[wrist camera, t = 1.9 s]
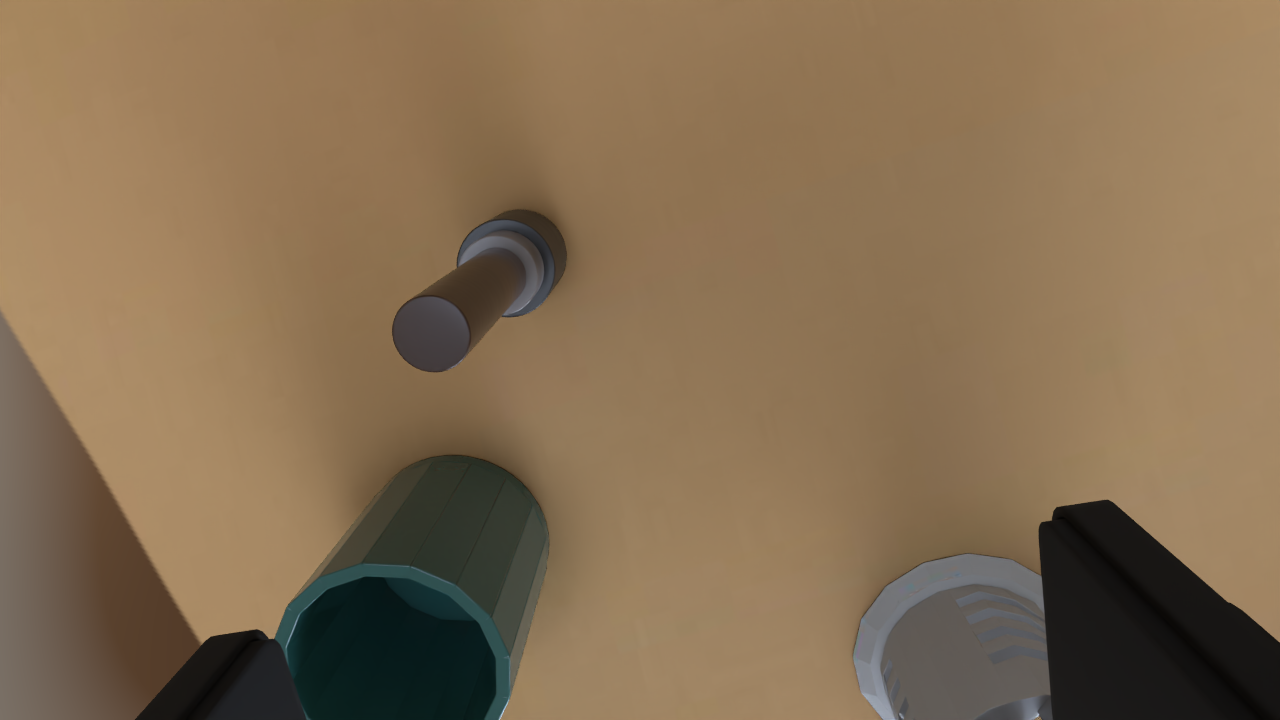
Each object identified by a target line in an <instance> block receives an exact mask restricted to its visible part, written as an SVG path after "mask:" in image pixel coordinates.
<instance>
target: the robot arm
mask: <svg viewBox="0 0 1280 720" xmlns="http://www.w3.org/2000/svg"><path fill="white" fill-rule="evenodd" d="M1039 548H1040V562H1041V575H1042V588H1043V601H1044V614H1045V628H1046V641H1047V654H1048V667H1049V680H1050V694H1051V707H1052V718H1053V720H1280V643H1279V642H1278V641H1277V640H1276V639H1275V638H1274V637H1272V636H1271V635H1270V634H1269V633H1268V632H1267V631H1265V630H1264V629H1263V628H1262V627H1261V626H1260V625H1259V624H1257V623H1256V622H1255V621H1254V620H1253V619H1252V618H1250V617H1249V616H1248V615H1247V614H1246V613H1245V612H1243V611H1242V610H1241V609H1239V608H1238V607H1236V606H1235V605H1233V604H1231V603H1228V602H1227V601H1226V600H1224V599H1223V598H1222V597H1221V596H1220V595H1219V594H1218V593H1216V592H1215V591H1214V590H1213V589H1212V588H1211V587H1210V586H1208V585H1207V584H1206V583H1205V582H1204V581H1203V580H1201V579H1200V578H1199V577H1198V576H1197V575H1196V574H1195V573H1193V572H1192V571H1191V570H1190V569H1189V568H1188V567H1187V566H1185V565H1184V564H1183V563H1182V562H1181V561H1180V560H1179V559H1177V558H1176V557H1175V556H1174V555H1173V554H1172V553H1171V552H1169V551H1168V550H1167V549H1166V548H1165V547H1164V546H1162V545H1161V544H1160V543H1159V542H1158V541H1157V540H1156V539H1154V538H1153V537H1152V536H1151V535H1150V534H1149V533H1148V532H1146V531H1145V530H1144V529H1143V528H1142V527H1141V526H1140V525H1138V524H1137V523H1136V522H1135V521H1134V520H1133V519H1131V518H1130V517H1129V516H1128V515H1127V514H1126V513H1125V512H1123V511H1122V510H1121V509H1120V508H1119V507H1118V506H1117V505H1115V504H1114V503H1113V502H1111V501H1109V500H1101V501H1094V502H1088V503H1081V504H1075V505H1068V506H1061V507H1056V509H1055V510H1054V512H1053V516H1052V521H1046V522H1042V523H1041V524H1040V526H1039ZM135 720H307V719H306V716H305V713H304V711H303V708H302V705H301V702H300V699H299V696H298V693H297V690H296V687H295V684H294V681H293V678H292V675H291V672H290V670H289V667H288V664H287V661H286V658H285V655H284V652H283V649H282V647H281V645H280V644H279V643H278V641H277V640H274V639H268V637H267V636H266V635H265V634H264V633H263V632H262V631H260V630H257V629H256V630H249V631H243V632H236V633H230V634H223V635H217V636H212V637H210V638H209V639H207V640H206V641H205V642H204V643H203V644H202V645H201V646H200V648H199V649H198V650H197V651H196V652H195V653H194V654H193V655H192V656H191V658H190V659H189V660H188V661H187V662H186V663H185V664H184V665H183V667H182V668H181V669H180V670H179V671H178V672H177V673H176V674H175V676H174V677H173V678H172V679H171V680H170V681H169V682H168V683H167V684H166V686H165V687H164V688H163V689H162V690H161V691H160V692H159V693H158V694H157V696H156V697H155V698H154V699H153V700H152V701H151V702H150V703H149V705H148V706H147V707H146V708H145V709H144V710H143V711H142V712H141V713H140V715H139V716H138V717H137V718H136V719H135Z"/></svg>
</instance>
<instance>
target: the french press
mask: <svg viewBox="0 0 1280 720" xmlns="http://www.w3.org/2000/svg"><path fill="white" fill-rule="evenodd" d="M853 660H854V664H855V668H856V673H857V677H858V681H859V686H860V690H861V693H862V694H863V695H864V696H865V698H866V699H867V700H868V701H869V703H870V704H871V705H872V706H873V708H874V709H875V710H876V711H877V713H878V714H879V715H880V716H881V718H882V719H883V720H1033V719H1035V718H1037V717H1038V716H1040V717H1041V719H1042V720H1053V718H1052V707H1051V694H1050V680H1049V667H1048V654H1047V641H1046V628H1045V614H1044V601H1043V588H1042V577H1041V576H1040V575H1038V574H1036V573H1034V572H1033V571H1031V570H1029V569H1027V568H1026V567H1024V566H1022V565H1020V564H1019V563H1017V562H1015V561H1013V560H1012V559H1004V558H997V557H990V556H983V555H975V554H968V553H967V554H963V555H958V556H953V557H949V558H944V559H939V560H935V561H930V562H925V563H923V564H921V565H919V566H918V567H916V568H915V569H913V570H911V571H910V572H908V573H906V574H905V575H903V576H902V577H900V578H898V579H897V580H895V581H894V582H892V583H890V584H889V585H887V586H886V587H885V588H884V590H883V591H882V592H881V594H880V595H879V596H878V598H877V599H876V600H875V602H874V603H873V604H872V606H871V607H870V608H869V610H868V611H867V612H866V614H865V615H864V616H863V618H862V619H861V623H860V627H859V632H858V636H857V640H856V645H855V649H854V653H853Z"/></svg>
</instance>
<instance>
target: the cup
mask: <svg viewBox="0 0 1280 720" xmlns="http://www.w3.org/2000/svg"><path fill="white" fill-rule="evenodd" d="M548 553H549V535H548V529H547V525H546V521H545V518H544V516H543V513H542V511H541V509H540V507H539V505H538V503H537V501H536V500H535V499H534V497H533V496H532V494H531V493H530V492H529V491H528V489H527V488H526V487H525V486H524V485H523V484H522V483H521V482H520V481H519V480H517V479H516V478H515V477H514V476H513V475H511V474H510V473H508V472H507V471H505V470H504V469H502V468H500V467H498V466H496V465H494V464H492V463H489V462H486V461H483V460H481V459H476V458H472V457H466V456H439V457H432V458H429V459H425V460H421V461H419V462H417V463H414V464H412V465H410V466H408V467H407V468H405V469H403V470H402V471H400V472H399V473H398V474H396V475H395V476H394V477H393V478H392V479H391V480H390V481H389V482H388V483H387V484H386V485H385V486H384V487H383V489H382V490H381V491H380V492H379V493H377V494H376V495H375V496H374V498H373V499H372V500H371V501H370V503H369V504H368V505H367V506H366V508H365V509H364V510H363V511H362V513H361V514H360V515H359V516H358V518H357V519H356V520H355V521H354V523H353V524H352V525H351V526H350V528H349V529H348V530H347V531H346V533H345V534H344V535H343V536H342V538H341V539H340V540H339V542H338V543H337V544H336V545H335V547H334V548H333V549H332V550H331V552H330V553H329V554H328V555H327V557H326V558H325V559H324V560H323V562H322V563H321V564H320V565H319V567H318V568H317V569H316V570H315V572H314V573H313V574H312V575H311V577H310V578H309V579H308V580H307V582H306V583H305V584H304V585H303V587H302V588H301V589H300V590H299V592H298V593H297V594H296V595H295V597H294V598H293V599H292V600H291V602H290V603H289V604H288V606H287V607H286V610H285V612H284V615H283V617H282V620H281V623H280V625H279V628H278V630H277V633H276V636H275V638H274V640H277V641H278V643H279V644H280V645H281V647H282V649H283V652H284V655H285V658H286V661H287V664H288V667H289V670H290V672H291V675H292V678H293V681H294V684H295V687H296V690H297V693H298V696H299V699H300V702H301V705H302V708H303V711H304V713H305V716H306V719H307V720H500V718H501V716H502V714H503V712H504V710H505V708H506V706H507V704H508V702H509V700H510V697H511V693H512V690H513V686H514V683H515V679H516V676H517V672H518V669H519V665H520V661H521V658H522V654H523V651H524V647H525V644H526V640H527V637H528V633H529V630H530V626H531V622H532V619H533V615H534V612H535V608H536V605H537V601H538V598H539V594H540V591H541V587H542V583H543V580H544V576H545V573H546V569H547V559H548Z"/></svg>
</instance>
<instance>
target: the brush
mask: <svg viewBox="0 0 1280 720" xmlns="http://www.w3.org/2000/svg"><path fill="white" fill-rule="evenodd" d="M566 259H567V253H566V246H565V243H564V240H563V237H562V235H561V233H560V232H559V230H558V229H557V228H556V226H555V225H554V224H553V223H552V222H551V221H550V220H548V219H547V218H546V217H544V216H542V215H541V214H538V213H536V212H533V211H530V210H511V211H507V212H504V213H502V214H500V215H498V216H496V217H494V218H492V219H490V220H488V221H486V222H485V223H483V224H481V225H479V226H478V227H476V228H475V229H474V230H472V231H471V232H470V233H469V234H468V235H467V237H466V238H465V240H464V241H463V243H462V245H461V247H460V250H459V253H458V257H457V268H456V269H455V270H453V271H452V272H450V273H449V274H447V275H446V276H444V277H443V278H441V279H440V280H438V281H437V282H435V283H434V284H432V285H431V286H429V287H428V288H426V289H425V290H423V291H422V292H420V293H419V294H417V295H416V296H414V297H413V298H412V299H410V300H409V301H407V302H406V303H405V304H403V305H402V307H401V308H400V309H399V310H398V312H397V314H396V316H395V318H394V321H393V326H392V336H393V341H394V344H395V346H396V348H397V350H398V352H399V354H400V355H401V356H402V357H403V359H404V360H406V361H407V362H408V363H409V364H410V365H412V366H414V367H415V368H417V369H420V370H423V371H427V372H443V371H447V370H449V369H451V368H453V367H455V366H456V365H458V364H459V363H460V362H461V361H462V360H463V359H464V358H465V357H466V356H467V355H468V353H469V352H470V351H471V350H472V349H473V348H474V347H475V346H476V344H477V343H478V342H479V341H480V340H481V339H482V338H483V336H484V335H485V334H486V333H487V332H488V331H489V330H490V329H491V327H492V326H493V325H494V324H495V323H496V322H497V321H498V319H499V318H500V317H517V316H521V315H525V314H527V313H529V312H531V311H533V310H535V309H536V308H537V307H539V306H540V305H541V304H542V303H543V302H544V301H545V299H546V298H547V297H548V295H549V294H550V293H551V291H552V290H553V288H554V287H555V286H556V284H557V283H558V282H559V280H560V278H561V277H562V275H563V272H564V270H565V266H566Z"/></svg>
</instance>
